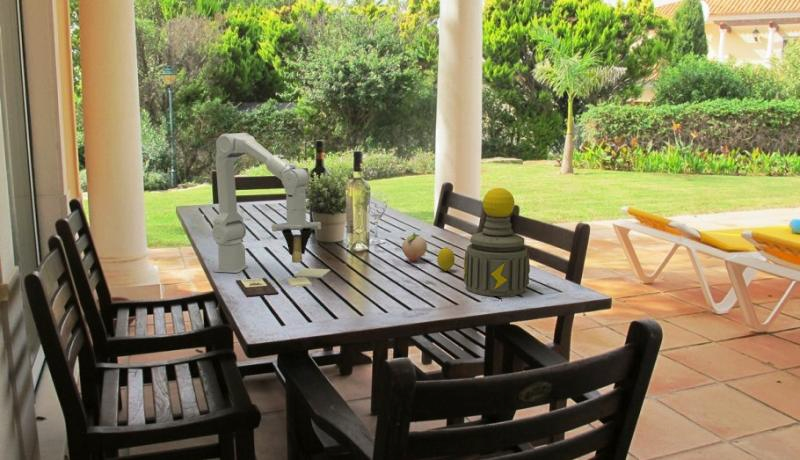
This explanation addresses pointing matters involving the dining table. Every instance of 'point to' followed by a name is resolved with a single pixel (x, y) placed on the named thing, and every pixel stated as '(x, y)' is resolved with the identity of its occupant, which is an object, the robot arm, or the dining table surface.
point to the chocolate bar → (256, 287)
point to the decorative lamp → (497, 251)
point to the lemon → (445, 258)
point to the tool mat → (312, 273)
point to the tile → (298, 281)
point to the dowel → (297, 248)
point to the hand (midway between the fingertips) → (296, 253)
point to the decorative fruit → (414, 247)
